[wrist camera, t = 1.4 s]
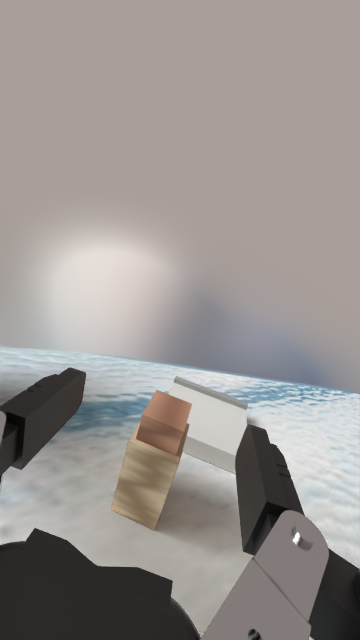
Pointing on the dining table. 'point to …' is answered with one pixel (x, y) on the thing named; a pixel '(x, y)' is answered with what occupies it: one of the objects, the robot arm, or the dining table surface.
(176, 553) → the dining table surface
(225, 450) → the dock
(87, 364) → the dining table surface
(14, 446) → the robot arm
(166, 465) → the beige tall block
